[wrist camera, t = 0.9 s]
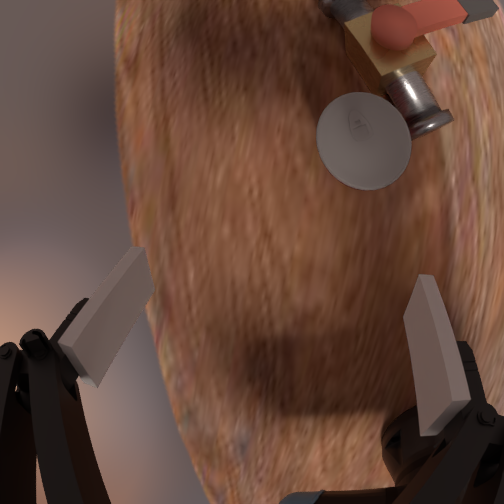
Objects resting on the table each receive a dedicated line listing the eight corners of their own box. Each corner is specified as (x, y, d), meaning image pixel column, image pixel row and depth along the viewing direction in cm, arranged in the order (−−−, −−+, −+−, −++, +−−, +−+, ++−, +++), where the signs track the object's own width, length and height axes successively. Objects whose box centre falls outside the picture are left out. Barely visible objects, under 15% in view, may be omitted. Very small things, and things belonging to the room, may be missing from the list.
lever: (386, 56, 22) (389, 47, 20) (361, 22, 21) (362, 12, 19) (495, 20, 17) (501, 12, 15) (471, -10, 16) (476, -20, 15)
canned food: (362, 106, 31) (367, 73, 21) (406, 163, 31) (432, 154, 21) (310, 145, 34) (294, 128, 23) (353, 203, 34) (357, 210, 23)
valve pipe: (446, 125, 29) (472, 109, 20) (400, 146, 31) (417, 133, 23) (363, 1, 28) (363, -39, 19) (319, 18, 30) (309, -20, 22)
